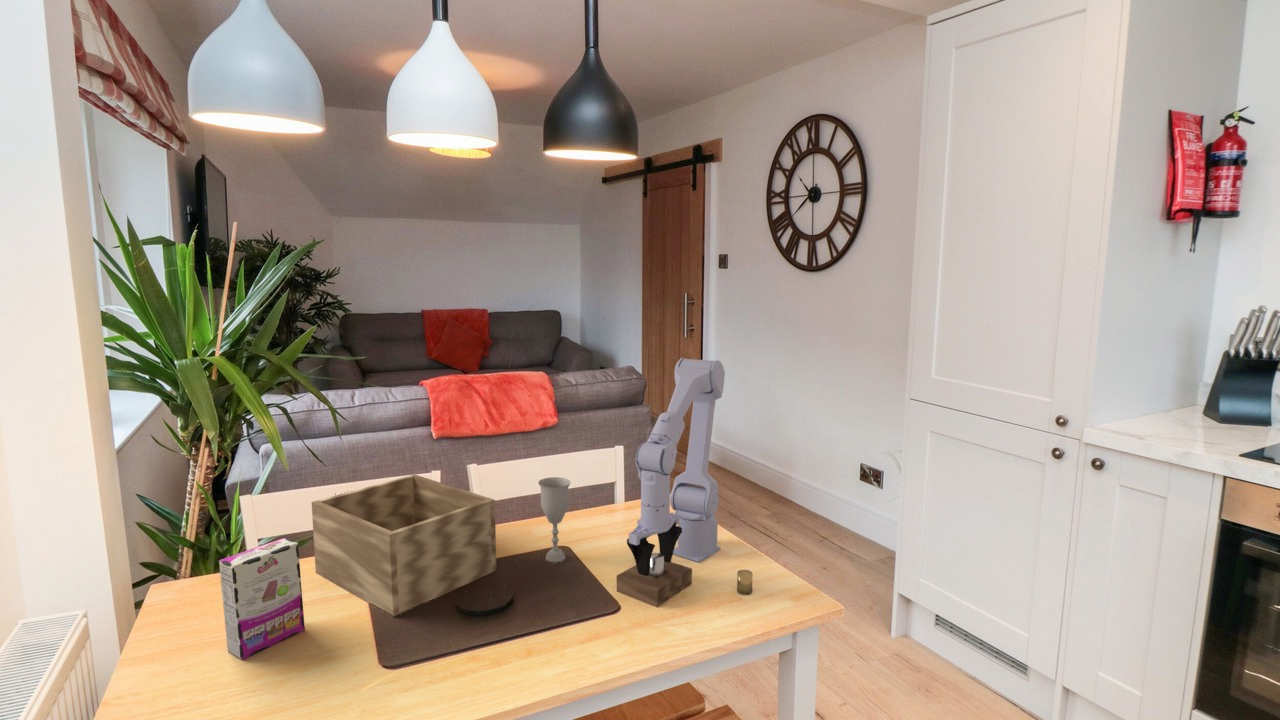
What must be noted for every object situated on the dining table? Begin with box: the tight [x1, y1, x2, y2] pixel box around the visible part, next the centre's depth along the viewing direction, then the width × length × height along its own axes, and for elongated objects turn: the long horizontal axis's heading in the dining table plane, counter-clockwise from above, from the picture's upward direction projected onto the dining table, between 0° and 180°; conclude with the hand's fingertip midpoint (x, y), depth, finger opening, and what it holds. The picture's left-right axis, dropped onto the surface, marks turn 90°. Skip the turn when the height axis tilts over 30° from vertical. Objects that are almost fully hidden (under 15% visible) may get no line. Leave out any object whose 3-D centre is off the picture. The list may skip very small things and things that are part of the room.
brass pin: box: [736, 569, 754, 596], centre depth 134 cm, size 3×3×4 cm
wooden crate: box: [311, 474, 497, 615], centre depth 140 cm, size 24×28×16 cm
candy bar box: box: [218, 537, 306, 660], centre depth 114 cm, size 11×5×16 cm, turn 148°
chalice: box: [537, 476, 572, 562], centre depth 147 cm, size 7×7×18 cm
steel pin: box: [649, 552, 664, 578], centre depth 135 cm, size 3×3×7 cm
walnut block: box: [616, 561, 693, 608], centre depth 135 cm, size 12×10×4 cm
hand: (654, 567), depth 135 cm, fingers open, 7 cm apart
